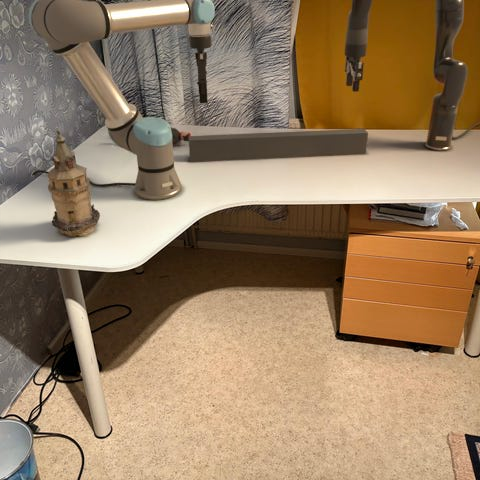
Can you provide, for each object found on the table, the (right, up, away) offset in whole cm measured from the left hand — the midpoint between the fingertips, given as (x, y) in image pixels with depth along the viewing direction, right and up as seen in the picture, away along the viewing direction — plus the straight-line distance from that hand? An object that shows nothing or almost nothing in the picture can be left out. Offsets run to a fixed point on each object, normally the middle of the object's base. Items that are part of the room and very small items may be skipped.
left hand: (203, 97), depth 192 cm
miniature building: (-34, -48, -37) cm, 69 cm away
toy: (-21, -11, +28) cm, 37 cm away
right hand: (+54, +4, +3) cm, 55 cm away
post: (+28, -19, +13) cm, 36 cm away
